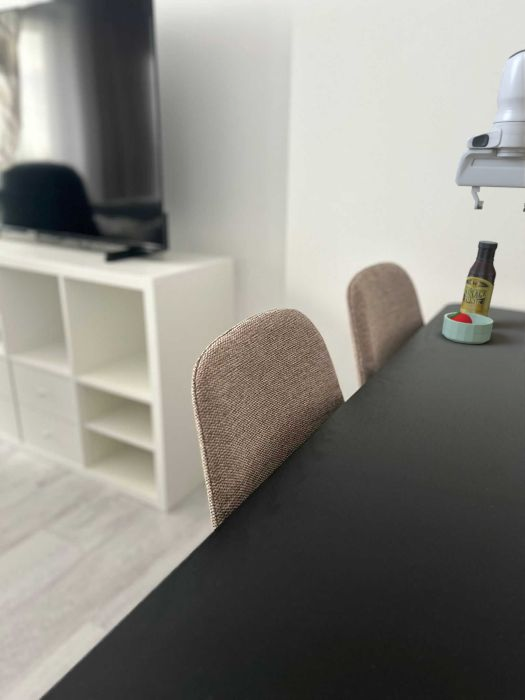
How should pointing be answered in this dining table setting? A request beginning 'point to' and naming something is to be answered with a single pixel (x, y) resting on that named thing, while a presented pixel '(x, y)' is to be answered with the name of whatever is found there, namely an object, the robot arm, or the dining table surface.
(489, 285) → the sauce bottle
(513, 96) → the robot arm
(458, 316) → the tomato
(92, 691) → the dining table surface
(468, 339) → the bowl
